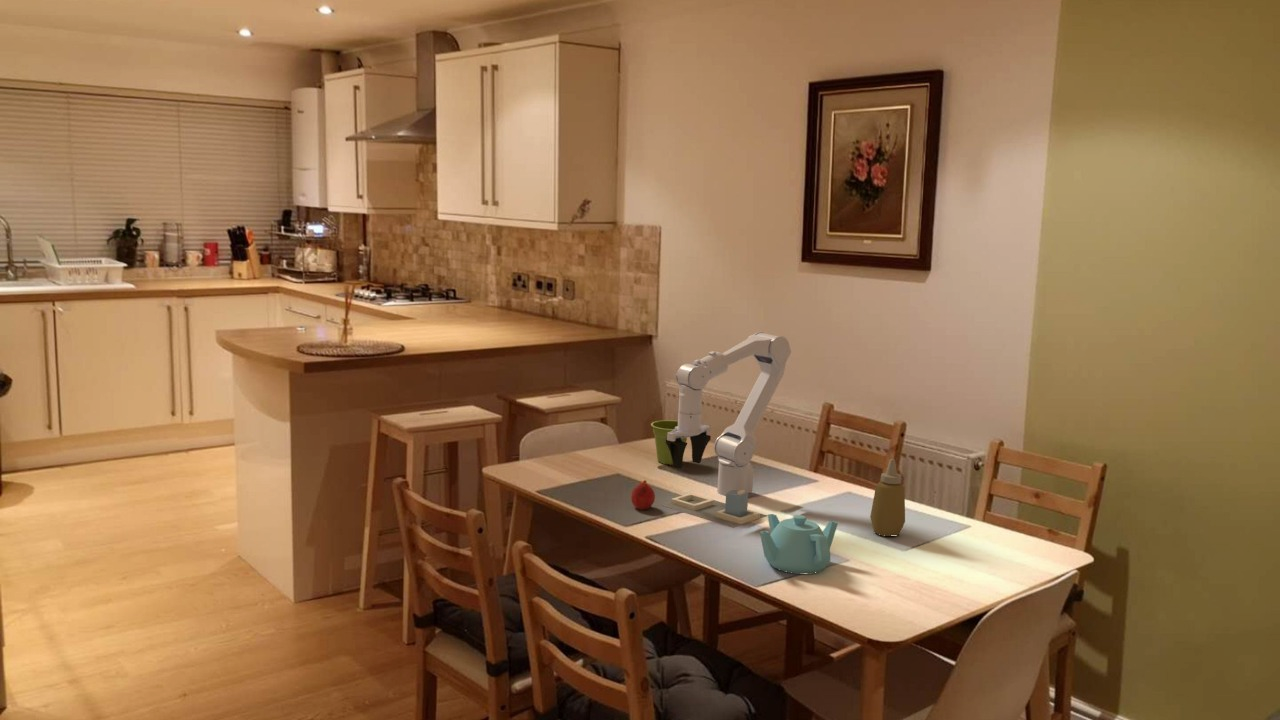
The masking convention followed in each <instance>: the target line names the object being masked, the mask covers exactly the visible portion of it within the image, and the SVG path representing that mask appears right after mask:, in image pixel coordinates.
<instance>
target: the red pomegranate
mask: <svg viewBox="0 0 1280 720" xmlns="http://www.w3.org/2000/svg"><path fill="white" fill-rule="evenodd" d="M630 498H631V499H630V500H631V503H632V505H633V507H635V508H636V509H637V510H642V511H643V510H644V511H645V510H648V509H649V508H650V507H652V506H653V504H654V502H655V501H656V500H655V499H656V494H655V492H654V489H653V488H652V487H651V486H650V485H649V484H648V482H647V480H646V479H642V480H641V482H640V483H639V484H637V485H636V486H635V487H634V488H633V489H632V491H631V494H630Z"/></svg>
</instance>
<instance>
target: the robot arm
mask: <svg viewBox="0 0 1280 720" xmlns="http://www.w3.org/2000/svg"><path fill="white" fill-rule="evenodd" d="M791 354H792V350H791V346H790V342H789V340H788V339H787V338H786V337H785V336H781V335H775V334H770V333H765V332H763V331H758V332H755V333H754V334H750V335H749V336H748V337H747V339H744V340H743V341H741V342H740V343H737V344H736V345H734V346H733V347H731V348H729V349H727V350H726V351H724V352H719V351H713V350H712V351H709V352H708V355H707V356H704V357H702V358H700V359H695V360H694V361H693V363H692V364H691V363H685V364H682V365H681V366H680V367H679V368H678V370H677V372H676V374H675V375H674V377H675V380H676V383H677V384H678V385H677V386H678V391H679V394H678V396H679V397H678V414H677V415H678V416H677V421H678V426H677V427H675V430H673V431H671V432H668V433H667V438H666V444H667V446H668V448H669V450H670V453H671V457H672V461H673V464H672V466H673V467H674V468H677V469H682V466H683V462H684V461H683V460H684V453H685V450H686V448H687V445H688V442H687V441H686V442H682V440H681V439H682V438H687V439H688V438H689V439H690V442H691V443H690V444H691V459H692V460H691V461H692V462H693V463H695V464H701V462H702V458H703V456H704V453H705V450H706V447H707V446H708V444H709V442H710V440H711V435H710V427H711V426H710V425H707V424H706V425H705V424H702V421H701V419H702V405H703V389H704V388H706V386H707V384H708V382H709V381H711V380H712V379H714V378H716V377H719V376H720V375H723V374H724V373H726V372H727V371H728V368H729V366H730V365H733V364H736V363H737V362H739V361H742V360H744V359H747V358H749V357H751V356H753V357H754V359H755V360H756V361H755V362H757V364H758V366H759V369H760V373H759V375H758V377H757V379H756V381H755V383H754V385H753V387H752V388H751V391H750V393H749V395H748V396H747V398H746V401H745V402H744V404H743V406H742V407H741V410H740V412H739V414H738V416H737V418H736V420H735V421H734V423H733V424H731V425H729V426H727V427H726V428H724V431H723V432H722V433H721V435H720V434H719V436H717V438H716V440H715V441H714V443H713V451H714V453H715V455H716V456H717V461H718V472H717V473H718V474H717V487H716V488H717V491H716V493H717V494H719V495H722V496H725V497H726V493H728V492H730V491H732V490H738V491H740V490H745V492H748V494H749V493H751V494H755V492H753V488H754V486H753V484H754V467H753V466H752V464H751V461H752V459H753V456H754V451H755V447H756V445H757V440H756V437H755V435H754V432H755V430H756V429H757V427H758V425H759V423H760V422H761V419H762V417H763V415H764V414H765V411H766V410H767V407H768V405H769V404H770V401H771V399H772V398H773V396H774V394H775V392H776V390H777V388H778V386H779V384H780V381H781V380H782V379H783V377H784V373H785V367H786V363H787V362H788V359H789V358H790V356H791Z"/></svg>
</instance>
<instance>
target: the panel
mask: <svg viewBox="0 0 1280 720" xmlns="http://www.w3.org/2000/svg"><path fill="white" fill-rule="evenodd" d="M725 503H726V502H723V501H719V500H715V499H712V498H709V497H705V496H702V495H697V494H694V493H691V492H690V493H687V494H683V495H679V496H677V497H673V498H670V503H667V504H662V507H664V508H668V509H670V510H671V509H672V510H675V511H676V512H677V511H678V512H681V513H684V514H687V515H690V516H693V517H698V518H701V519H703V520H707V521H710V522H714V523H716V524H720V525H724V526H727V527H730V528H733V529H734V528H736V527H739V526H742V525H745V524H748V523H751V522H753V521H756V520H760V519H762V518H765V517H768V514H764V513H760V512H758V511H753V510H750V509H747V516H744V517H741V518H740V517H736V516H733V515H729V514H726V513H725Z"/></svg>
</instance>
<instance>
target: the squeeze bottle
mask: <svg viewBox="0 0 1280 720" xmlns="http://www.w3.org/2000/svg"><path fill="white" fill-rule="evenodd" d="M874 490H875V491H874V494H873V501H872V505H871V506H872V507H871V511H870V521H871V526H872V529H873V530H872V531H873V532H875V533H877V534H880V535H885V536H891V535H898V534H899V533H900V534H901V531H902V529H903V527H904V525H905V523H906V497H905V496H906V495H905V494H906V492H905V490H906V489H905V486H904V485H903V484H902V475H901V474H899V473H898V472H897V464H896V460H895V459H891V458H890V459H889V462H888V465H887V469H886V472H882V473H881V475H880V481H879V482H877V483H876V484H875V489H874ZM875 533H874V534H875ZM877 534H876V535H877ZM900 534H899V535H900ZM880 535H879V536H880ZM899 535H898V536H899ZM885 536H884V537H885Z"/></svg>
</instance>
